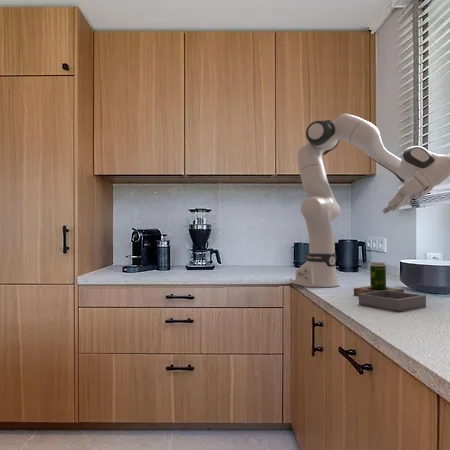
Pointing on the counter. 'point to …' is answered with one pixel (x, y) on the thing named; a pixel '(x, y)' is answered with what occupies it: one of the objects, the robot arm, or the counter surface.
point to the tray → (392, 300)
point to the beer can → (378, 276)
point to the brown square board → (368, 289)
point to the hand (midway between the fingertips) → (386, 208)
